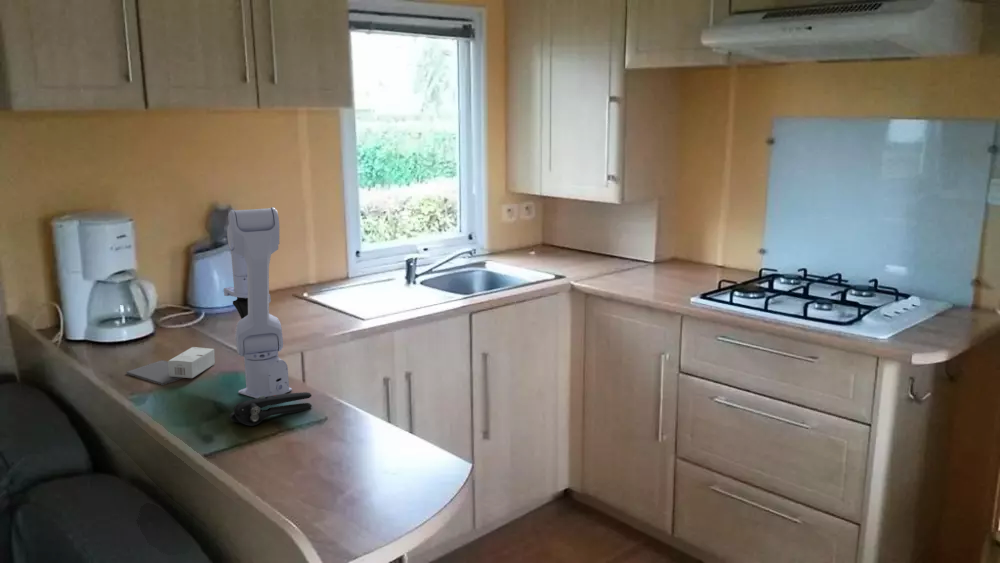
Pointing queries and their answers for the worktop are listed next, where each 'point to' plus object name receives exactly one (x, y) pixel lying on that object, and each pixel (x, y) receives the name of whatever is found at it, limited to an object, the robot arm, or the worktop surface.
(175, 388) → the worktop surface
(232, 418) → the can opener
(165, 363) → the mat
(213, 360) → the skincare box
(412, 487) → the worktop surface
